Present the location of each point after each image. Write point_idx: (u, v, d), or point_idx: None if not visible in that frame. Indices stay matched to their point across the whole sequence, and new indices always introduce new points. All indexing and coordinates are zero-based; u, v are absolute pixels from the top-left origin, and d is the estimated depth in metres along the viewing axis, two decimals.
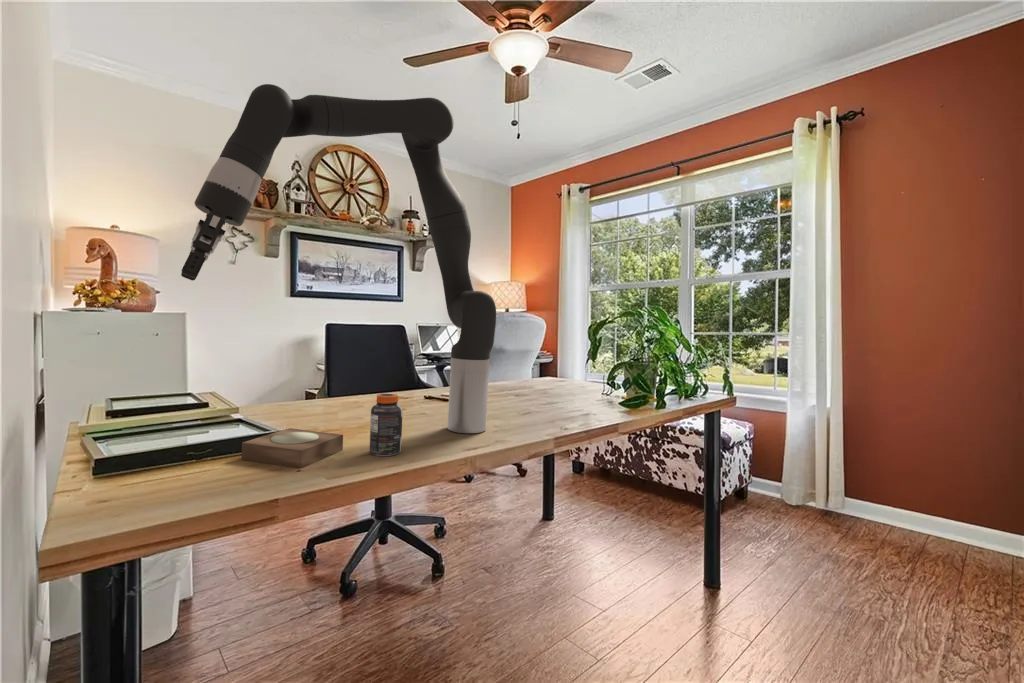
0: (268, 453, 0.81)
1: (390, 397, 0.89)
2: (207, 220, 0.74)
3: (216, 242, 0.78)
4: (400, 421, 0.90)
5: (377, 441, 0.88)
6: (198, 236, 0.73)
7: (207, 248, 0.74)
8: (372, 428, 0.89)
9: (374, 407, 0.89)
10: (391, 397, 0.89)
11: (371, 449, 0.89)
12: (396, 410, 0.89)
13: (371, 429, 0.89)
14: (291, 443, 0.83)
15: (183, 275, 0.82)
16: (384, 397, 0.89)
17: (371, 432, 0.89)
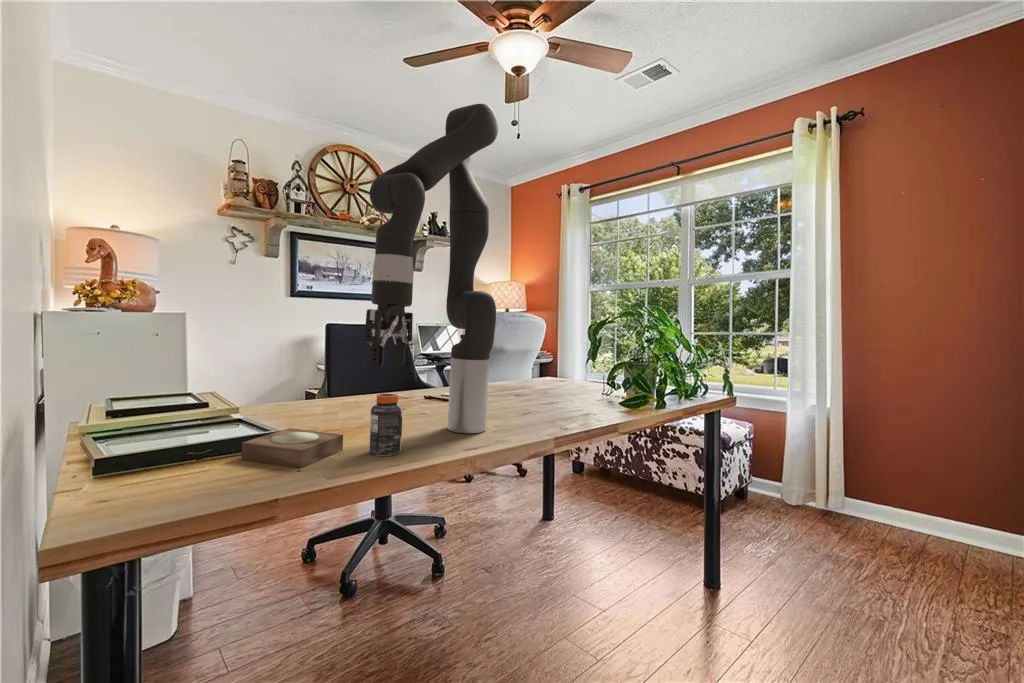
0: (268, 453, 0.81)
1: (390, 397, 0.89)
2: (367, 317, 0.84)
3: (387, 330, 0.86)
4: (400, 421, 0.90)
5: (377, 442, 0.88)
6: (365, 333, 0.84)
7: (374, 340, 0.83)
8: (372, 428, 0.89)
9: (374, 407, 0.89)
10: (391, 397, 0.89)
11: (371, 449, 0.89)
12: (396, 410, 0.89)
13: (371, 429, 0.89)
14: (291, 443, 0.83)
15: (395, 362, 0.95)
16: (384, 397, 0.89)
17: (371, 432, 0.89)
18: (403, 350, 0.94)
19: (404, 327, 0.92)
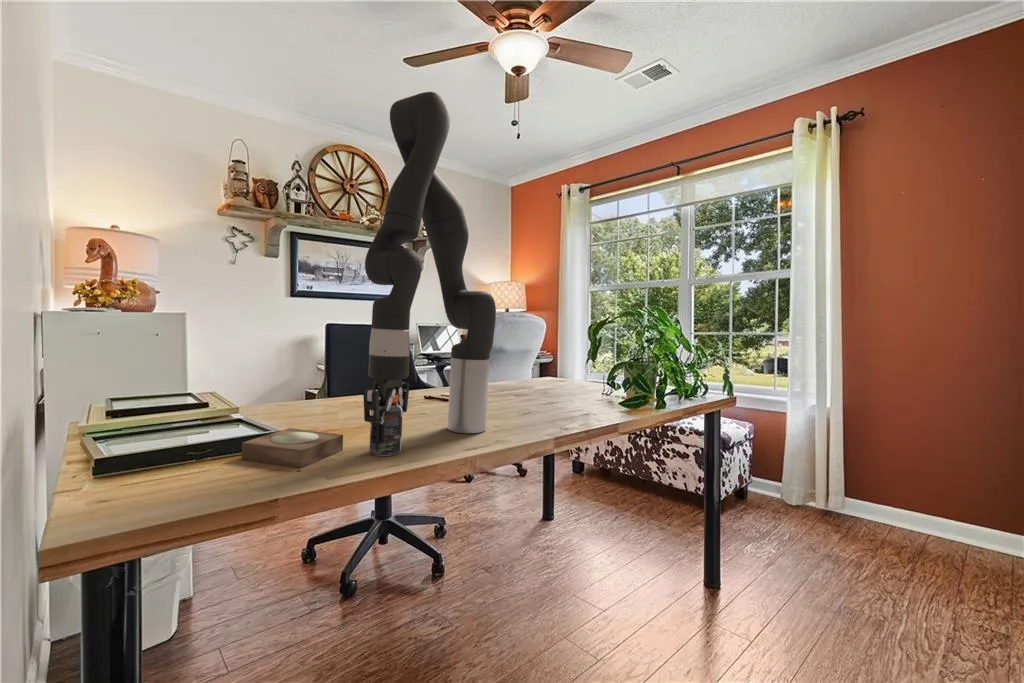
0: (268, 453, 0.81)
1: None
2: (365, 398, 0.85)
3: (386, 407, 0.88)
4: (400, 420, 0.90)
5: None
6: (365, 414, 0.85)
7: (374, 421, 0.85)
8: None
9: None
10: None
11: (371, 449, 0.89)
12: (396, 410, 0.89)
13: None
14: (291, 443, 0.83)
15: None
16: None
17: None
18: None
19: (400, 398, 0.93)
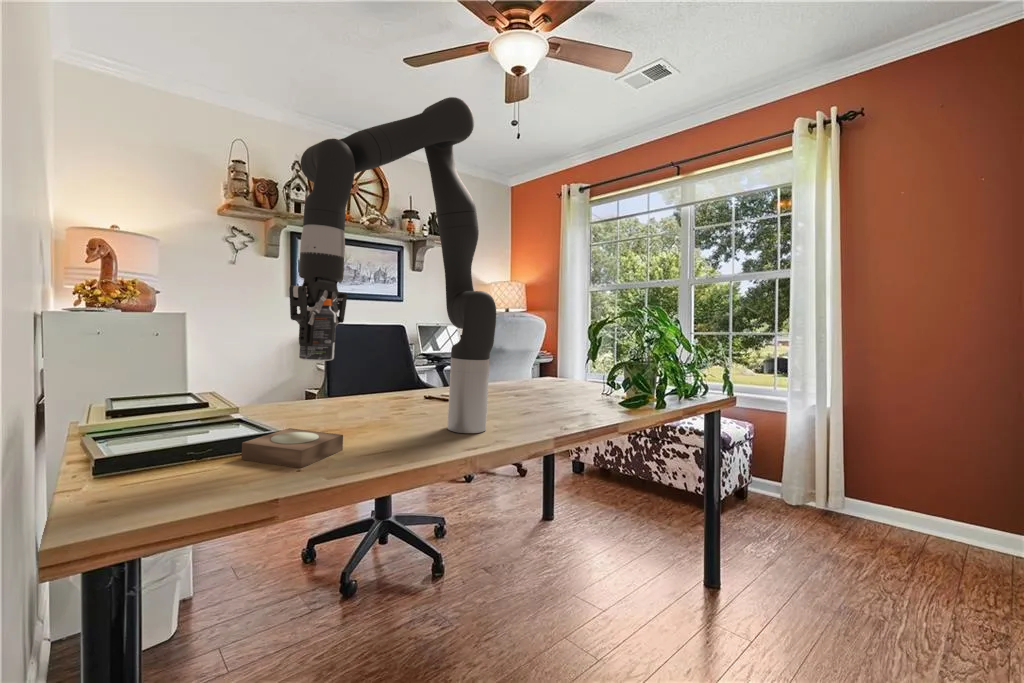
0: (268, 453, 0.81)
1: None
2: (291, 294, 0.80)
3: (315, 307, 0.83)
4: (332, 325, 0.86)
5: None
6: (291, 311, 0.80)
7: (300, 318, 0.80)
8: None
9: None
10: None
11: (300, 353, 0.84)
12: (328, 313, 0.85)
13: None
14: (291, 443, 0.83)
15: None
16: None
17: None
18: None
19: (334, 304, 0.88)
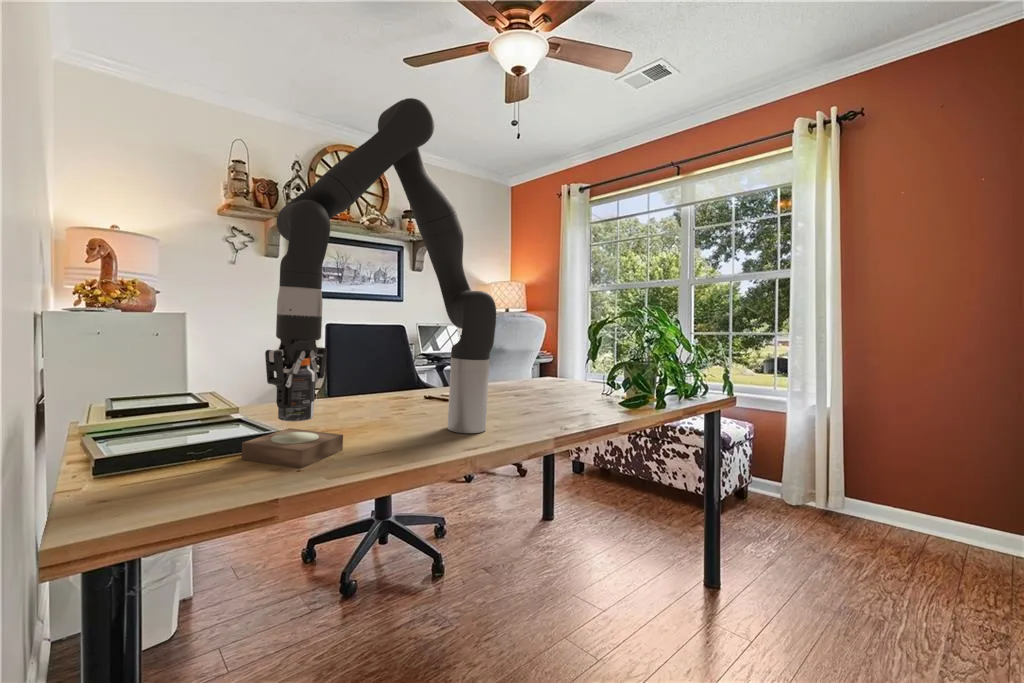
0: (268, 453, 0.81)
1: None
2: (267, 359, 0.80)
3: (292, 369, 0.83)
4: (310, 385, 0.85)
5: None
6: (267, 375, 0.80)
7: (277, 383, 0.80)
8: None
9: None
10: None
11: (279, 414, 0.84)
12: (305, 373, 0.85)
13: None
14: (291, 443, 0.83)
15: None
16: None
17: None
18: None
19: (313, 362, 0.88)
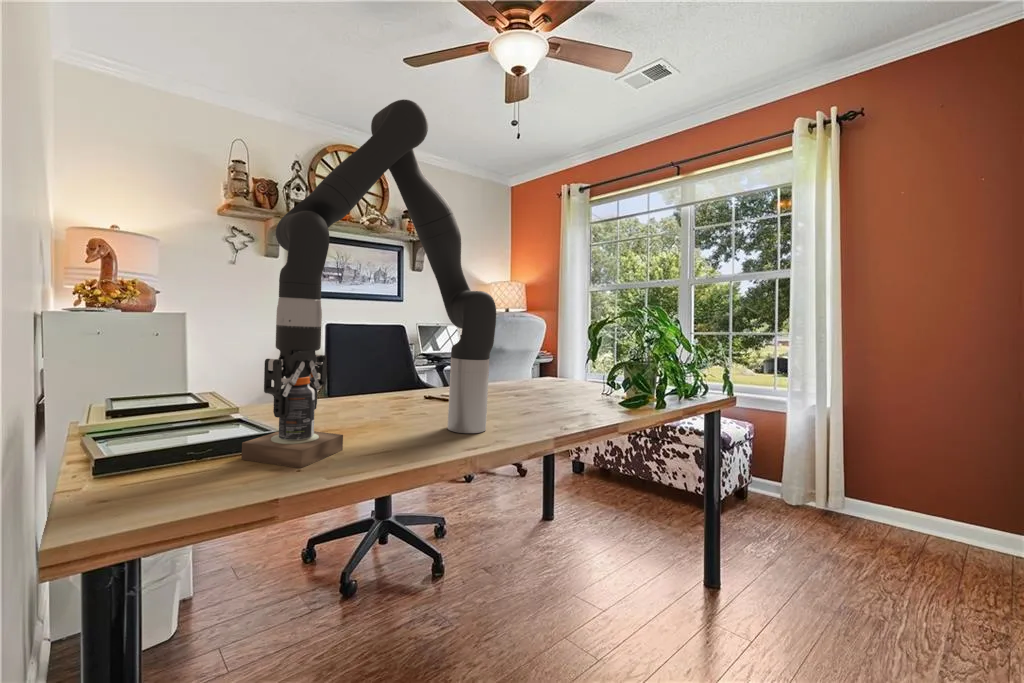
0: (268, 453, 0.81)
1: (299, 378, 0.85)
2: (266, 367, 0.80)
3: (291, 378, 0.82)
4: (310, 403, 0.86)
5: (284, 425, 0.84)
6: (265, 384, 0.80)
7: (274, 392, 0.80)
8: None
9: None
10: (300, 378, 0.85)
11: (279, 433, 0.85)
12: (306, 392, 0.85)
13: None
14: (291, 443, 0.83)
15: None
16: None
17: None
18: None
19: (313, 372, 0.88)
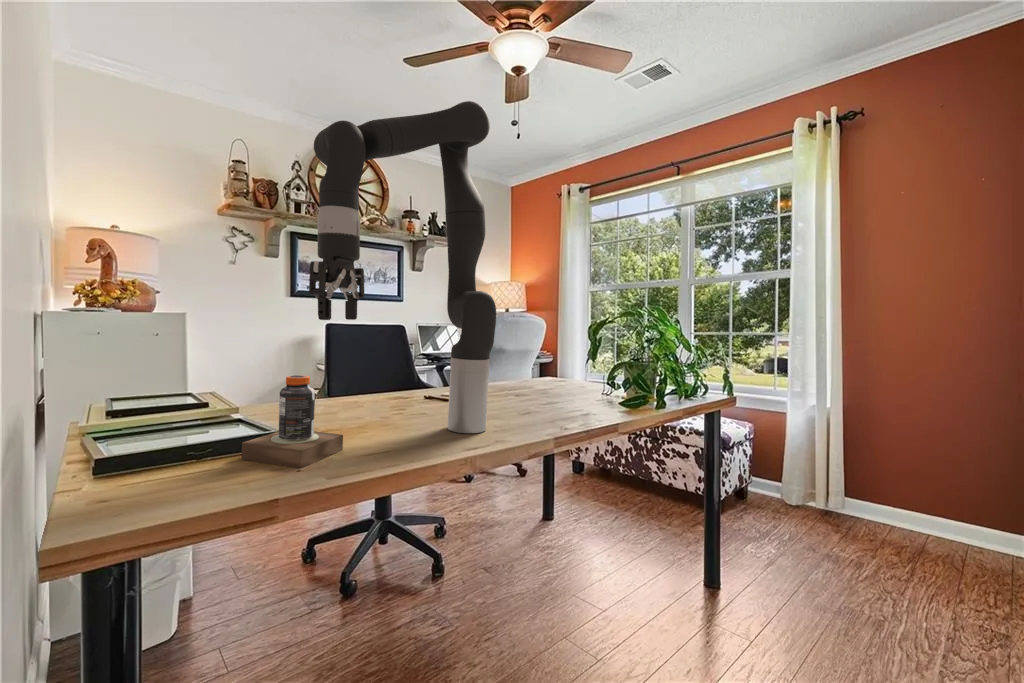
0: (268, 453, 0.81)
1: (299, 378, 0.85)
2: (311, 269, 0.83)
3: (333, 282, 0.86)
4: (310, 403, 0.86)
5: (284, 425, 0.84)
6: (310, 285, 0.83)
7: (318, 292, 0.83)
8: (280, 411, 0.85)
9: (282, 389, 0.85)
10: (300, 378, 0.85)
11: (279, 433, 0.85)
12: (306, 392, 0.85)
13: (279, 412, 0.85)
14: (291, 443, 0.83)
15: (347, 318, 0.94)
16: (292, 378, 0.85)
17: (279, 415, 0.85)
18: (354, 305, 0.94)
19: (353, 282, 0.92)
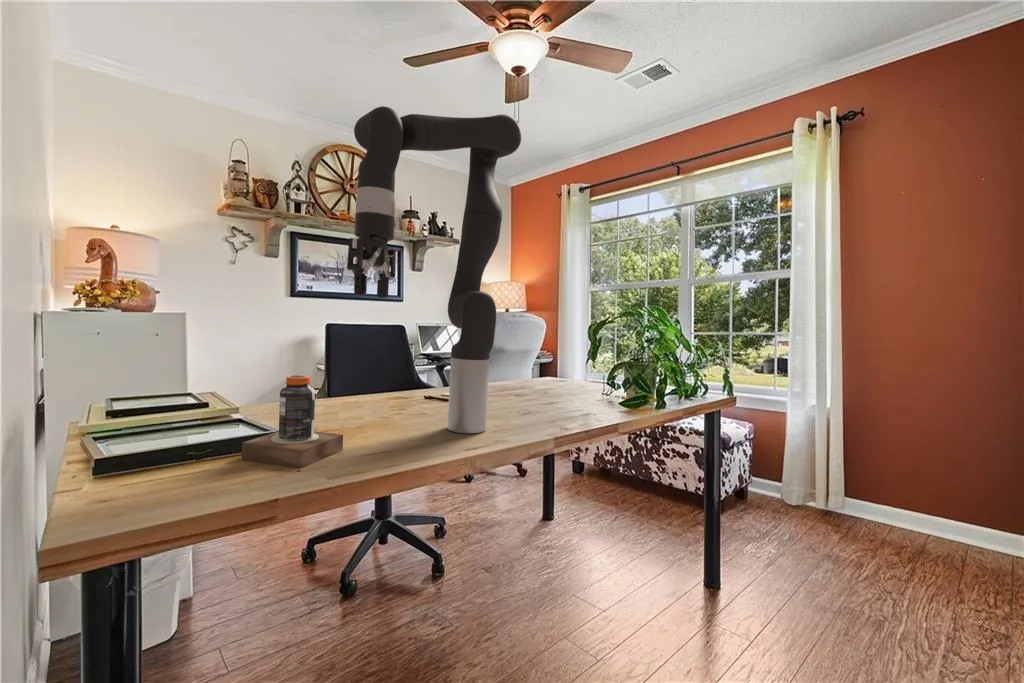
0: (268, 453, 0.81)
1: (299, 378, 0.85)
2: (350, 245, 0.87)
3: (370, 259, 0.90)
4: (310, 403, 0.86)
5: (285, 425, 0.84)
6: (348, 260, 0.87)
7: (356, 267, 0.87)
8: (280, 411, 0.85)
9: (283, 389, 0.85)
10: (300, 378, 0.85)
11: (279, 433, 0.85)
12: (306, 392, 0.85)
13: (279, 412, 0.85)
14: (291, 443, 0.83)
15: (378, 296, 0.98)
16: (293, 378, 0.85)
17: (279, 415, 0.85)
18: (386, 284, 0.98)
19: (387, 261, 0.96)
